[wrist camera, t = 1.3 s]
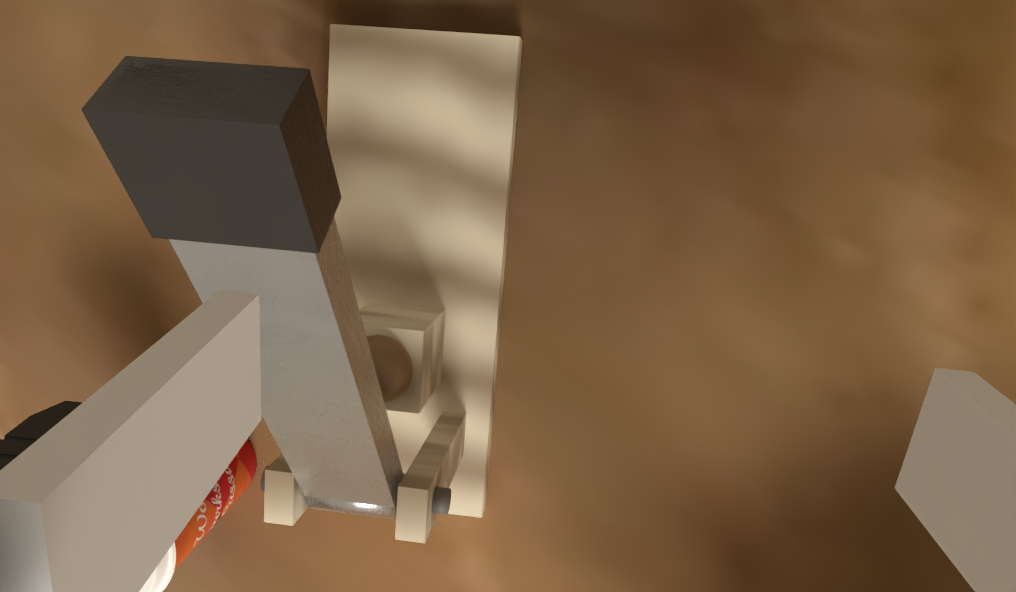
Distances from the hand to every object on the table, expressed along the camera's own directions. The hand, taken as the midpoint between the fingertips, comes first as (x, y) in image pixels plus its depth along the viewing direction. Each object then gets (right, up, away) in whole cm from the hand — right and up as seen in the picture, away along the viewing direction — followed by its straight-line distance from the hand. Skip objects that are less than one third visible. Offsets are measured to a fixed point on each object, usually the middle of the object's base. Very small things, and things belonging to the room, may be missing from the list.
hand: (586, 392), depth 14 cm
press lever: (-10, 0, +17) cm, 20 cm away
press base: (-8, +3, +36) cm, 37 cm away
